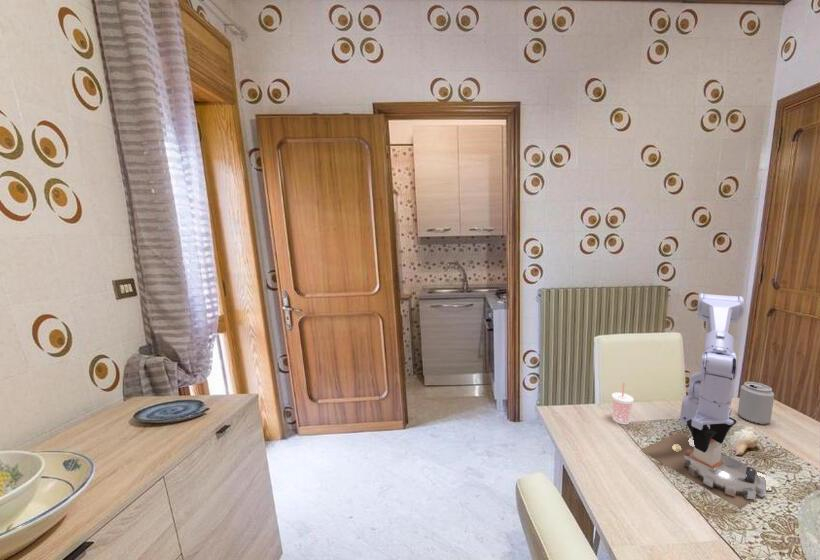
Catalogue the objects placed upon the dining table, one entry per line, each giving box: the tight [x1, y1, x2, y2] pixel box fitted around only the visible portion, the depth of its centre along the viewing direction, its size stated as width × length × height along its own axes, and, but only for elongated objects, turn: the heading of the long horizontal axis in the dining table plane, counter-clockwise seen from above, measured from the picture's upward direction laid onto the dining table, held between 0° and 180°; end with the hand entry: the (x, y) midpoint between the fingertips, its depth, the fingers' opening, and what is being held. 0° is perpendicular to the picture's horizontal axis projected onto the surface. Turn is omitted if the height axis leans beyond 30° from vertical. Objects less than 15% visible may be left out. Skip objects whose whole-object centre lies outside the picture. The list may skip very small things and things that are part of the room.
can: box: [737, 381, 775, 425], centre depth 106 cm, size 8×8×12 cm
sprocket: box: [683, 449, 767, 500], centre depth 82 cm, size 15×15×5 cm
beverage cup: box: [611, 382, 634, 425], centre depth 107 cm, size 6×6×14 cm
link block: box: [693, 439, 723, 466], centre depth 85 cm, size 4×4×5 cm
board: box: [640, 432, 768, 510], centre depth 87 cm, size 22×19×1 cm
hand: (708, 445), depth 85 cm, fingers open, 7 cm apart
